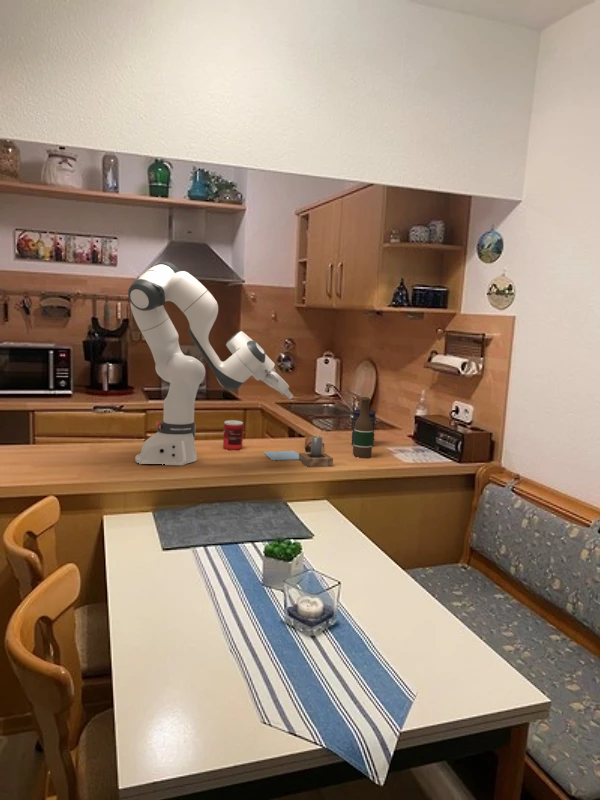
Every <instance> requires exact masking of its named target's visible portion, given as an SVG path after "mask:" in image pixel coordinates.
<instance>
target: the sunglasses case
mask: <svg viewBox="0 0 600 800" xmlns="http://www.w3.org/2000/svg"><path fill="white" fill-rule="evenodd" d="M312 437H313V436H310V435H307V437H306V438H305V441H304V445H305V446H304V448H305V453H311V440H312ZM324 445H325V443H324V442H323V441H322V452H325V453H326V451H325V448H324V447H325V446H324Z"/></svg>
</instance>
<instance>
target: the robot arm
mask: <svg viewBox="0 0 600 800" xmlns="http://www.w3.org/2000/svg"><path fill="white" fill-rule="evenodd" d="M127 296H128V300H129V302H130V309H131V313H132V316H133V318H134V320H135V323H136V325H137V327H138V328H139V330H140V331H139V332H140V333H141V334H142V336H143V339H145V341H146V343H147V345H148V347H149V349H150V352H151V354H152V357H153V360H154V363H155V372H156V374H157V375H158V377H160V378H161V379H162V380H163V381H165V382H167V383H169V389H168V391H167V395H166V397H165V398H164V400H163V414H162V415H163V417H162V419H163V420H162V421H159V420H158V421H156V422H155V426H156V428H157V432H156V433H154V434H153V435H151V436H149V438H147V439H146V440H145V441H144V442H143V444H142V446H141V449H140V453H138V454H136V455H135V457H134V462H135V463H137V464H138V463H139V465H141V464H162V465H161V466H184V465H186V464H189V463H194V462H196V461H197V460H198V456H197V452H196V444H195V437H196V436H195V435H196V423H195V403H196V397H197V394H198V390H199V387H200V384H202V382H203V381H204V379H205V377H206V368H205V366H204V364H203V362H201V361H200V360H199V359H198V358H195V357H194V356H191V355H185V354H184V353H183V352H182V350H181V347H180V341H179V333H178V330H177V329H176V327H175V325H174V323H173V322H172V320H171V318H170V316H169V314H168V312H167V310H166V309H165V307H164V305H165V303H166V302H172V303H173V304H175V306H177V307H178V309H180V311H181V312H182V313H183V315H184V316H185V317H186V318H187V321H188V323H189V328H188V334H189V336H190V338H191V340H192V342H193V343H194V345H195V346H196V348H197V349H198V351H199V352H200V354H201V355H202V357H203V359H204V360H205V361H206V363H207V364H208V366H209V367H210V369H211V370H212V372H213V374H214V376H215V378H216V380H217V381H218V383H219V385H220V386H221V387H222V388H224V389H225V390H226V391H235V390H239V389H240V387H241V386H243V384H244V383H245V382H246V381H247V380H248V379H249V378H250V377H251V376H252V377H253V378H254V379H255V380H256V381H257V382H258V381H261V382H264V384H266V385H267V386H269V387H270V388H272V389H274V390H275V391H277V392H278V393H280V394H281V395H282V396H286V397H287V398H288V399H289V400H292V399H293V398H294V395H293V393H292V392H291V391H290V390H289V389H290V385H289V384H288V383H287V382H286V381H285V379H283V378H282V376H280V374H278V373H277V372H276V369H275V366H276V364H275V362H274V361H273V360H272V359H271V358H270V357H269V356H268V355H267V354H266V350H265V349H264V348H263V346H261V345H260V344H259V343H258V342H257V340H254V339H252V338H251V337H250V336H248V335H247V334H246V333H245V332H244V331H242V330H241V331H237V332H236V333H235V334H234V335H232V336H231V337H230V338H229V339H228V340H227V341H226V343H225V346H226V347H227V349H228V350H229V352H230V353H231V354H232V355H230V356H229V357H228V358H227V359H225V360H224V361H223V360H221V359H220V357H219V355H218V354H217V353H216V351H215V349H214V348H213V347H212V345H211V343H210V340H209V335H210V332H211V330H212V327H213V325H214V324H215V322H216V320H217V317H218V314H219V304H218V302H217V300H216V299H215V297H214V295H213V294H212V293H211V292H210V291H209V290H208V288H206V287H205V285H203V283H201V282H200V281H199V279H197V278H196V277H194V276H193V275H192V274H190V272H188V271H185V270H183V271H182V270H180V269H179V268H178V267H177V266H176V265H175V264H173V263H172V262H170V261H169V262H168V261H162V262H159V263H156V264H154V265H153V266H152V267H149V269H147V270H145V271H144V272H143V273H142V274H141V275H140V276H139V277H138V278H137V279H135V280H134V281H133V282H132V283H131V285H130V286H129V289H128V291H127ZM163 464H165V465H163Z"/></svg>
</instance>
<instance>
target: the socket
mask: <svg viewBox="0 0 600 800" xmlns="http://www.w3.org/2000/svg"><path fill="white" fill-rule="evenodd" d="M298 454H299V460H298V461H299V462H300V461H301V462H302V463H301V462H300V463H301V464H303V466H305V467H306V466H307V467H306V468H314V467H313V466H328V467H333V464H334V458H333V456H332V457H331V456H330V455H329V454H327V453H326V452H325V453H324V452H321V458H311V452H299V453H298Z"/></svg>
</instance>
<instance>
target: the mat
mask: <svg viewBox="0 0 600 800" xmlns="http://www.w3.org/2000/svg"><path fill="white" fill-rule="evenodd" d="M262 453H263V454H264V455H265V456H266V455H267V456H268V457H269V458H270V459H271V461H272V460H273V461H272V462H275V460H278V462H279V461H280V460H281V461H299V453H298V452H297V451H295V450H283V451H282V450H280V451H278V450H276V451H275V450H274V451H263V452H262ZM267 456H266V457H267ZM268 457H267V458H268ZM269 458H268V459H269Z"/></svg>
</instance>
